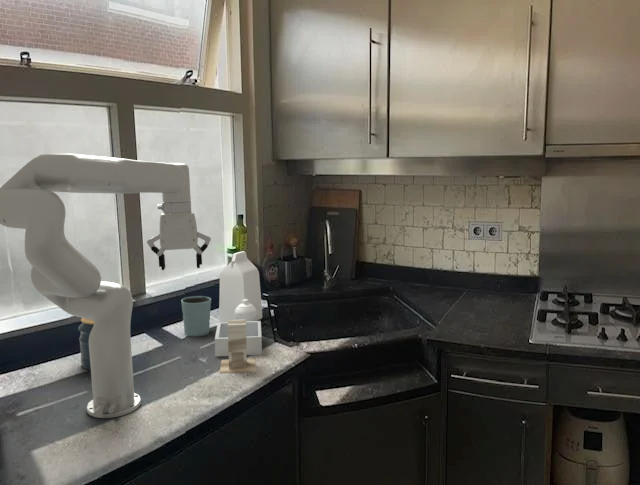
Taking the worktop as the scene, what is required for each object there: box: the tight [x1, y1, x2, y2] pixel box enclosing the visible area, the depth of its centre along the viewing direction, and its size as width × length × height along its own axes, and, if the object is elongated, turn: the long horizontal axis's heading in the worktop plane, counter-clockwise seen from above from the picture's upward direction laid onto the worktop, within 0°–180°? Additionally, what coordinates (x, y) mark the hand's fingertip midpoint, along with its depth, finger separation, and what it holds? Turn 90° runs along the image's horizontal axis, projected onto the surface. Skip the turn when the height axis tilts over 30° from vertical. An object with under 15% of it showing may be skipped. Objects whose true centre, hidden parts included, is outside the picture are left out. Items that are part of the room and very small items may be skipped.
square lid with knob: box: [219, 357, 257, 374], centre depth 155 cm, size 10×10×6 cm
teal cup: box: [180, 295, 212, 337], centre depth 188 cm, size 10×10×12 cm
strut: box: [228, 319, 248, 369], centre depth 154 cm, size 5×5×13 cm
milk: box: [218, 250, 263, 323], centre depth 200 cm, size 12×12×26 cm
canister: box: [77, 317, 94, 371], centre depth 160 cm, size 13×13×18 cm
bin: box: [214, 320, 263, 357], centre depth 170 cm, size 16×14×7 cm
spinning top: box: [235, 299, 257, 321], centre depth 187 cm, size 8×8×12 cm
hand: (181, 268), depth 152 cm, fingers open, 9 cm apart
